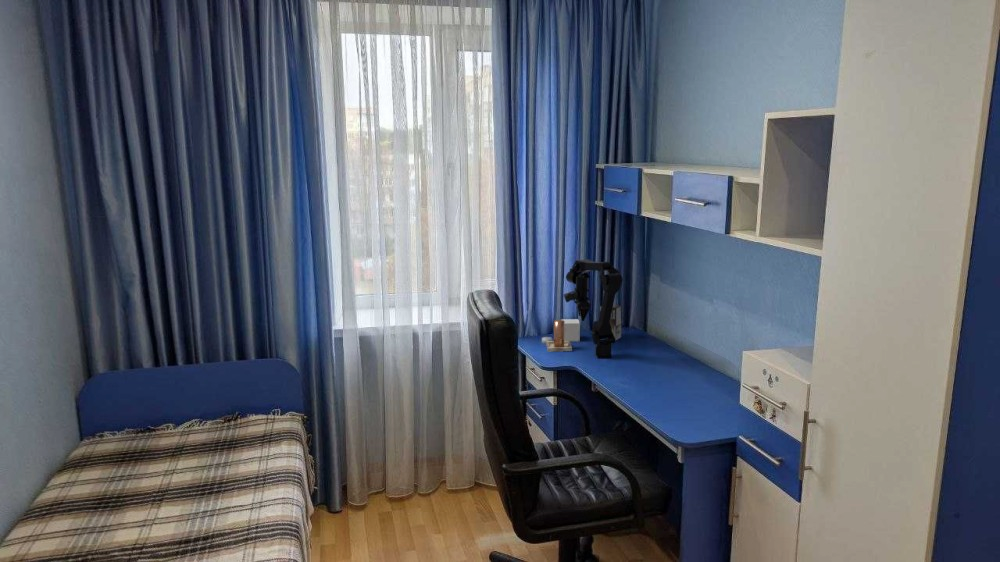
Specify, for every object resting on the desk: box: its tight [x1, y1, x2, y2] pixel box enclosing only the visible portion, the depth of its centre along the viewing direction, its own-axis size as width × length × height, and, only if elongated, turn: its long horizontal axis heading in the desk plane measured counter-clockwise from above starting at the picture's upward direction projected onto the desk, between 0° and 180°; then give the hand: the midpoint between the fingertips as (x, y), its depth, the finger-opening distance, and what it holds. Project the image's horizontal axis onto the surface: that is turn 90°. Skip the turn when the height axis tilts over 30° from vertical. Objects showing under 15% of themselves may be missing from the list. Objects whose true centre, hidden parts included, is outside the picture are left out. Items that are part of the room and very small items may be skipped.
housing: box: [561, 318, 581, 342], centre depth 331 cm, size 8×8×9 cm
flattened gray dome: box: [541, 336, 553, 345], centre depth 326 cm, size 5×5×2 cm
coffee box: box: [599, 304, 622, 341], centre depth 333 cm, size 9×6×16 cm
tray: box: [545, 340, 573, 353], centre depth 317 cm, size 11×11×2 cm
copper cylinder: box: [553, 319, 564, 347], centre depth 316 cm, size 5×5×12 cm
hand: (581, 318), depth 320 cm, fingers open, 9 cm apart
